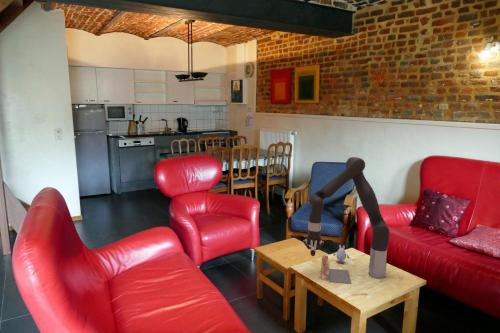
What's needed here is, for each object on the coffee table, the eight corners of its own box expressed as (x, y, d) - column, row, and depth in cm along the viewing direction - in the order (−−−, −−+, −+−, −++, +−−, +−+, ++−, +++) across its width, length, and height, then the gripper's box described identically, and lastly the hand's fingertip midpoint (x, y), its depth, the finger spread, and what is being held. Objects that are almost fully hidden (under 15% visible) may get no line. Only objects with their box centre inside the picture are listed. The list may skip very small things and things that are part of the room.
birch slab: (326, 270, 222) (327, 255, 220) (328, 280, 211) (329, 264, 209) (321, 270, 223) (321, 255, 221) (322, 279, 211) (322, 264, 209)
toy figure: (349, 262, 234) (351, 245, 232) (348, 266, 229) (349, 248, 226) (333, 258, 239) (334, 242, 236) (331, 262, 233) (332, 245, 231)
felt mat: (348, 270, 222) (348, 270, 222) (351, 283, 207) (351, 283, 207) (327, 269, 224) (327, 268, 224) (329, 282, 209) (329, 281, 209)
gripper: (325, 227, 215) (323, 254, 218) (303, 225, 217) (301, 252, 220) (326, 231, 208) (324, 259, 211) (303, 230, 210) (301, 257, 213)
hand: (312, 255), depth 216 cm, fingers closed
